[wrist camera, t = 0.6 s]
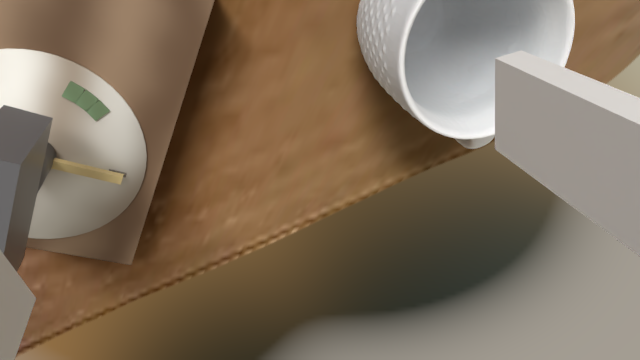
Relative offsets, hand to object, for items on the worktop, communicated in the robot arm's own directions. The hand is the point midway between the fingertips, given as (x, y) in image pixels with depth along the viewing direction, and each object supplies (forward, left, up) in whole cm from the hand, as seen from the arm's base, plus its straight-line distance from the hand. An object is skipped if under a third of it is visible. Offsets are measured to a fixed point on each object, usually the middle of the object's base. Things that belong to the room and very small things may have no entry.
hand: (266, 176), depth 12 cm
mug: (+14, +4, -27) cm, 30 cm away
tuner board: (-9, -10, -26) cm, 29 cm away
